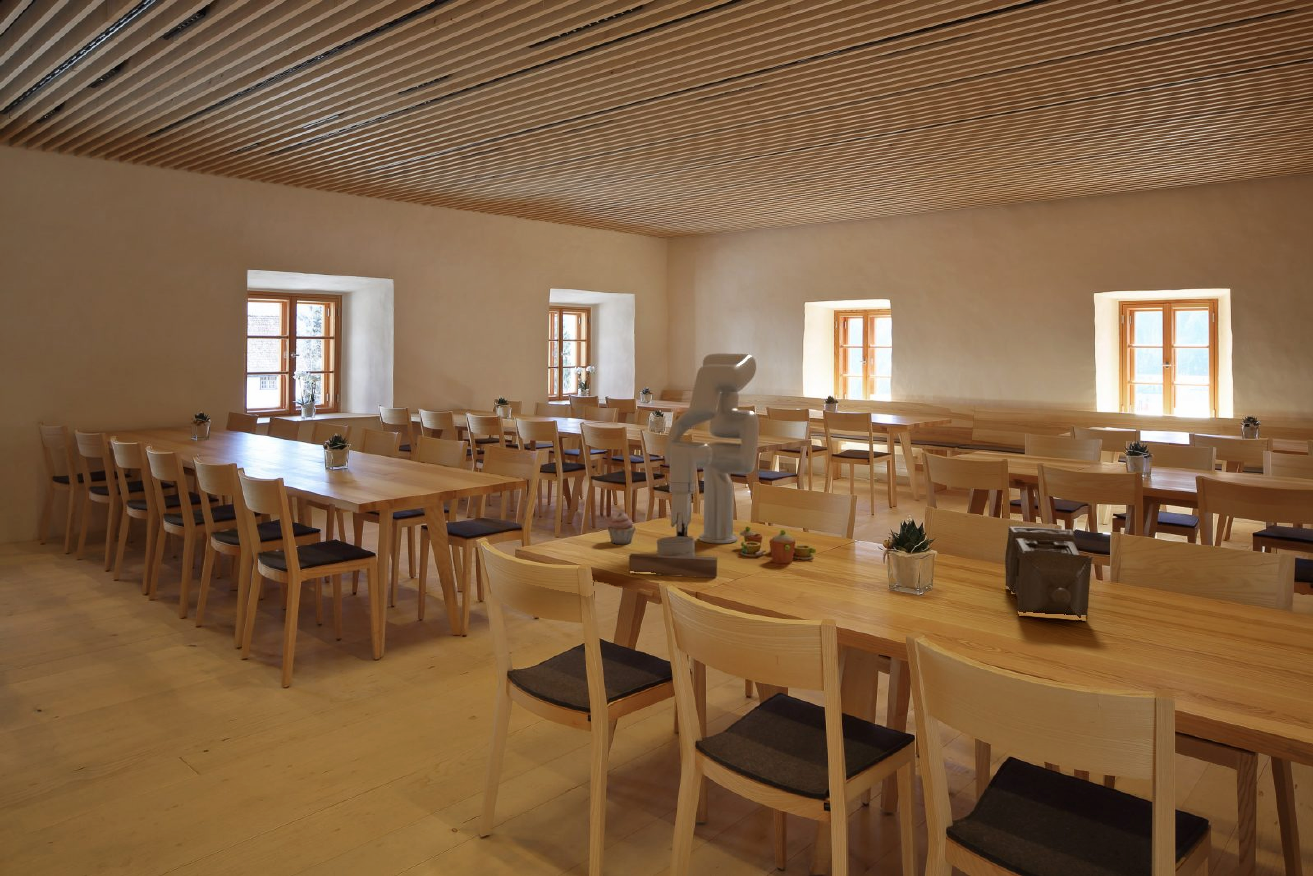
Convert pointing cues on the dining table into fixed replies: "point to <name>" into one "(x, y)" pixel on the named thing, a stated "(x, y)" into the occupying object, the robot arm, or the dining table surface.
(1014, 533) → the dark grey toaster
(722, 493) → the robot arm
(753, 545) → the toy tea set
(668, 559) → the block
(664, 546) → the grey rounded block
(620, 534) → the cupcake
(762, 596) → the dining table surface
